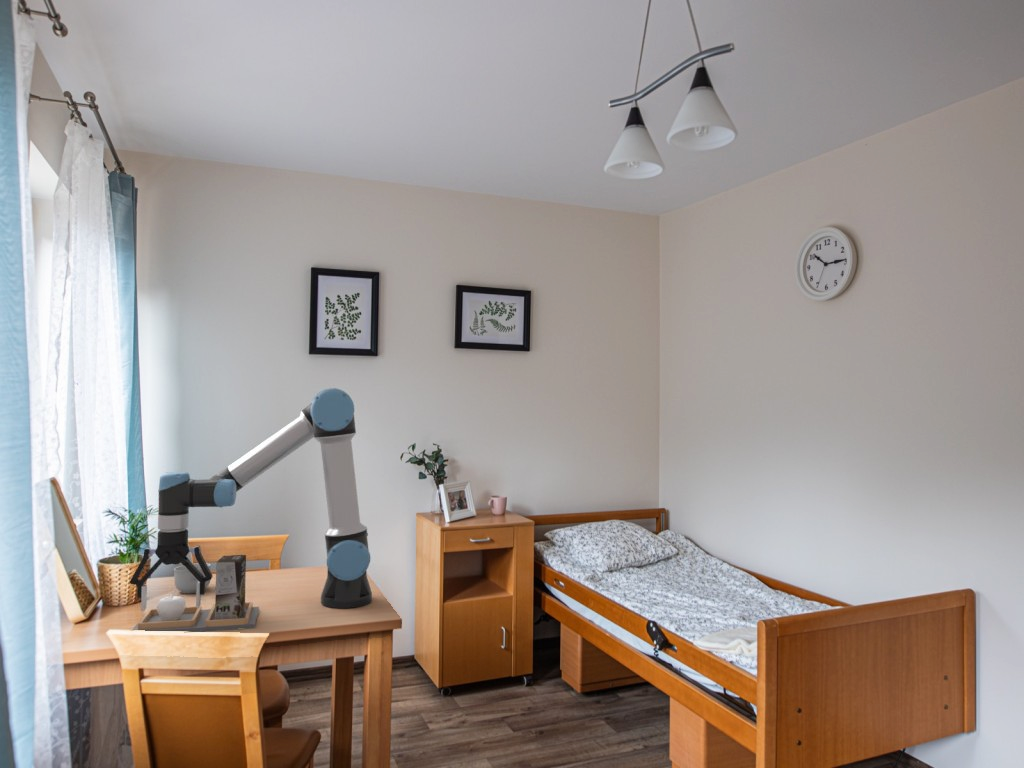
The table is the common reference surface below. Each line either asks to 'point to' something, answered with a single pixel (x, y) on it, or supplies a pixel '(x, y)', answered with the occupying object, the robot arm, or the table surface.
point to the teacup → (188, 578)
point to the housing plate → (198, 620)
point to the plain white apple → (171, 608)
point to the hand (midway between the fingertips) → (171, 608)
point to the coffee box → (230, 587)
